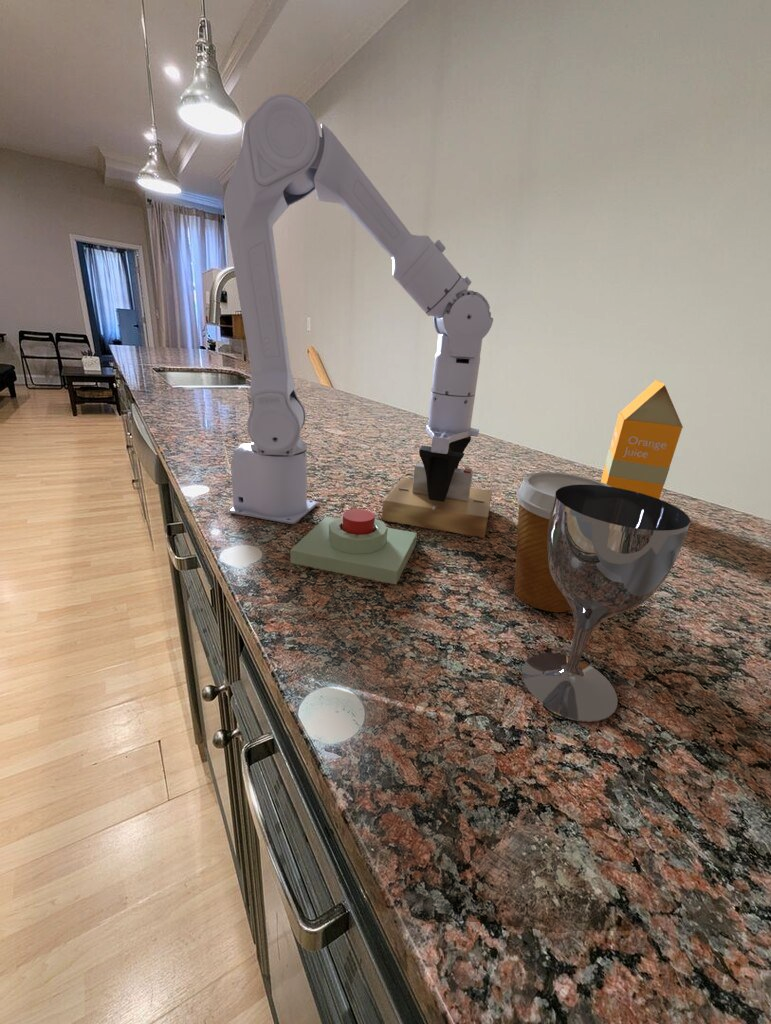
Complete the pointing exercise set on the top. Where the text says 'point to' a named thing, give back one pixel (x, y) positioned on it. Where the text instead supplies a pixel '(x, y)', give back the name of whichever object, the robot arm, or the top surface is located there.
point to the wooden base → (438, 510)
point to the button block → (356, 550)
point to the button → (358, 522)
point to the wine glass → (600, 583)
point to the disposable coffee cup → (539, 539)
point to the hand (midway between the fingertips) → (441, 491)
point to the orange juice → (643, 443)
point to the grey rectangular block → (457, 486)
